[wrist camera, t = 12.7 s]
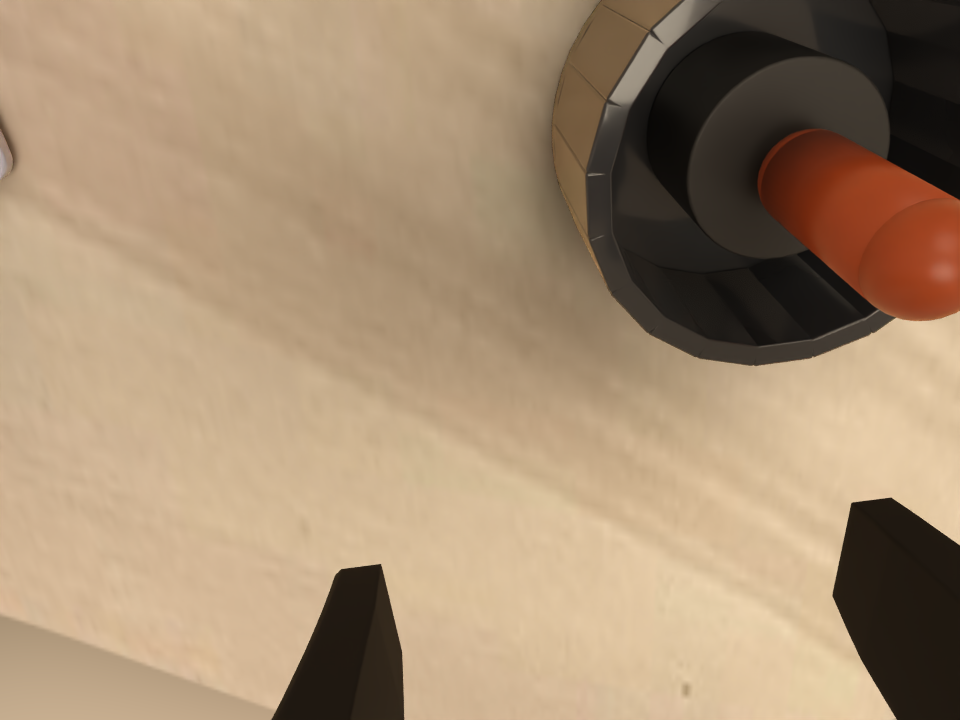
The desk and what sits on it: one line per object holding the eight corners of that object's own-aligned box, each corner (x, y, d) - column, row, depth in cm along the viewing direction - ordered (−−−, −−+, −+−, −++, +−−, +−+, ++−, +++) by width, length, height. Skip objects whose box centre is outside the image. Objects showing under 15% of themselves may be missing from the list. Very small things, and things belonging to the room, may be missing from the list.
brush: (646, 220, 18) (795, 425, 11) (646, 44, 16) (831, 158, 9) (809, 198, 18) (1063, 389, 11) (831, 19, 16) (1160, 113, 9)
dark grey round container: (561, 300, 20) (594, 389, 16) (538, -54, 16) (576, -39, 12) (871, 258, 20) (971, 337, 16) (933, -107, 16) (1088, -109, 12)
